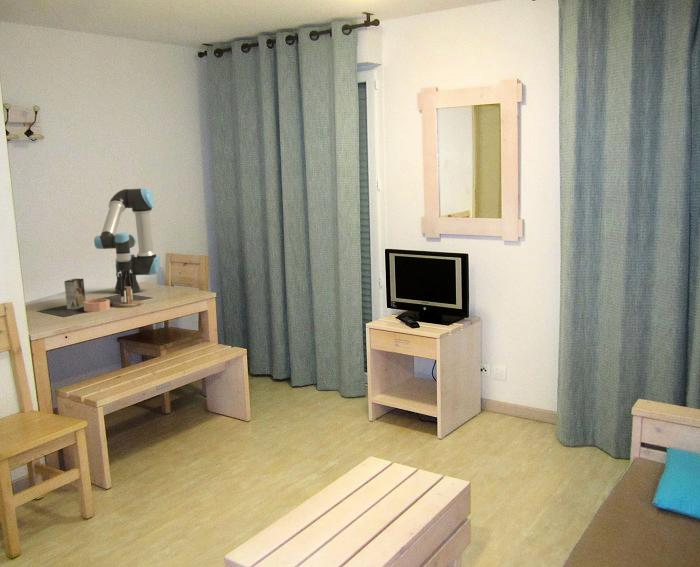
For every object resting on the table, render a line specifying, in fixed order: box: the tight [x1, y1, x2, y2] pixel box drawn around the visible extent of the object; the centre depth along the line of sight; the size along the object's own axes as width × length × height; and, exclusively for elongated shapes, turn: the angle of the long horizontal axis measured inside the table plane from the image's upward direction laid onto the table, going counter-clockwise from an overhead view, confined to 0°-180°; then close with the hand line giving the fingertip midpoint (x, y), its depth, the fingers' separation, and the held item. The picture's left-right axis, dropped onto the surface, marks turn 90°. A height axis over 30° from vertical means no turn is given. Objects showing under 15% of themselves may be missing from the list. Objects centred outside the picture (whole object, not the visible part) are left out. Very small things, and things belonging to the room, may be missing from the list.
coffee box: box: [64, 278, 87, 310], centre depth 386 cm, size 9×6×16 cm
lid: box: [111, 286, 143, 308], centre depth 390 cm, size 16×16×10 cm
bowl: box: [83, 298, 111, 313], centre depth 380 cm, size 13×13×5 cm
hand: (127, 301), depth 390 cm, fingers open, 6 cm apart
